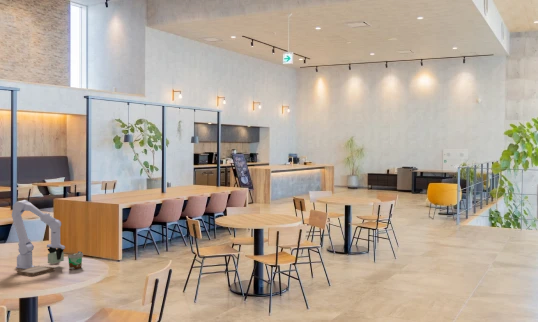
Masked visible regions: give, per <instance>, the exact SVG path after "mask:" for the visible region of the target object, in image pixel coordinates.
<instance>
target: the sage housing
mask: <svg viewBox="0 0 538 322" xmlns="http://www.w3.org/2000/svg"><path fill="white" fill-rule="evenodd" d="M64 254H65V252H64V251H63V252H62V255H61V259H60V260H57V254H56V252H53V253H47V263H48V264H57V262H58V263H61V262H64V261H65V256H64Z"/></svg>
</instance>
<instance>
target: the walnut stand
mask: <svg viewBox="0 0 538 322" xmlns="http://www.w3.org/2000/svg"><path fill="white" fill-rule="evenodd" d="M34 266H35V267H31V268H27V269H20V270H17V271H16V274H17V275H21V276H29V277H35V276H40V275H44V274H48V273H51V272H54V271H55V267H51V266H47V265H45V266H44V265H34Z"/></svg>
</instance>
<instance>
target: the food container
mask: <svg viewBox="0 0 538 322" xmlns="http://www.w3.org/2000/svg"><path fill="white" fill-rule="evenodd" d="M83 256H84V253H83V251H77V252H76V253H72V254H68V255H67V259H68V270H69V271H74V270H80V269H82V265H83V263H82V262H83Z"/></svg>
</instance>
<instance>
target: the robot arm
mask: <svg viewBox="0 0 538 322" xmlns="http://www.w3.org/2000/svg"><path fill="white" fill-rule="evenodd" d="M26 211H27V212H31V213H32V214H34V215H36V217H38V218H40V221H41V222H43V223H45V224H46V225H47V226H48V227H49V228H50V244H49V243H48V244H46V248H47V252H49V253H53V252H55V251H56V254H57V260H60V259H61V255H62V252H64V250H65V249H66V246H65V245H63V244H62V243H61V228H62V227H61V226H62V221H61V220H60V219H57V218H55V217H53V216H52V215H51V214H50V213H47V212H45V213H44V212H43V211H41V209H39V208H38V207H36V206H35V205H34V204H33V203H31V202H30V201H29V200H27V199H23V200H17V201H16V202H14V204H13V205H12V211H11V218H12V222H13V223H14V228H15V231H16V235H17V237H18V249H17V250H18V253H19V254H17V256H16V266H15V268H16V269H21V270H23V269H27V268H31V267H35V266H36V265H33V250H34V247H35V246H34V244H33V243H32V241H31V240H30V239H29V237H28V233H27V229H26V228H25V227H26V226H25V224H24V220H23V217H22V215H23V213H24V212H26ZM49 253H48V254H49Z"/></svg>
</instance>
